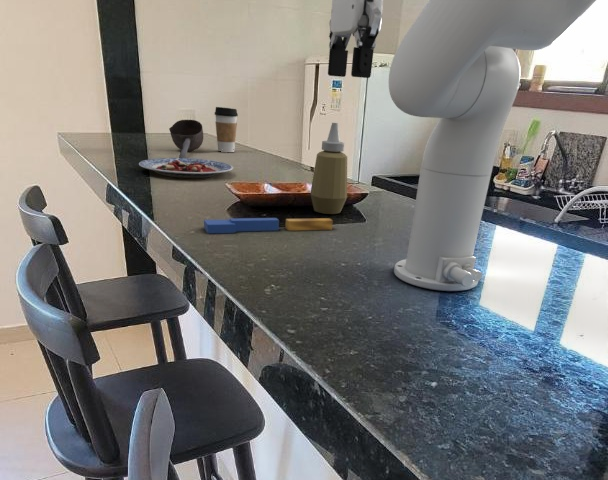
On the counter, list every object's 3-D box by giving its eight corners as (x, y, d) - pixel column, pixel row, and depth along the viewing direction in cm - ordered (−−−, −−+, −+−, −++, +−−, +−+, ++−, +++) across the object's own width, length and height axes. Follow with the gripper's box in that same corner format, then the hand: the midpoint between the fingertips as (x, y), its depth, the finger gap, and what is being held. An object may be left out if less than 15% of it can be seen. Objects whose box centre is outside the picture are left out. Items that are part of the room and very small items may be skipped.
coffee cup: (210, 151, 194) (210, 106, 187) (220, 149, 202) (220, 106, 195) (231, 154, 192) (232, 108, 186) (241, 151, 200) (241, 108, 193)
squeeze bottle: (342, 217, 113) (352, 125, 104) (305, 213, 114) (311, 122, 106) (347, 210, 120) (356, 123, 111) (312, 206, 121) (319, 120, 113)
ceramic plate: (217, 184, 137) (217, 172, 135) (122, 175, 140) (121, 163, 138) (243, 170, 159) (243, 160, 158) (161, 163, 162) (160, 152, 161)
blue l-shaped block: (274, 227, 102) (274, 216, 101) (280, 231, 99) (280, 221, 98) (204, 228, 97) (203, 217, 96) (207, 233, 94) (207, 222, 93)
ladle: (205, 142, 198) (201, 114, 191) (205, 189, 170) (201, 158, 163) (173, 144, 196) (168, 116, 189) (168, 191, 169) (162, 160, 162)
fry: (328, 227, 104) (329, 218, 104) (332, 229, 103) (332, 220, 102) (285, 228, 102) (285, 218, 101) (288, 230, 100) (288, 221, 99)
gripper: (410, -59, 74) (392, 79, 82) (358, -39, 88) (347, 77, 96) (362, -68, 72) (348, 76, 80) (316, -46, 86) (308, 74, 94)
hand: (348, 76), depth 88 cm, fingers open, 9 cm apart
